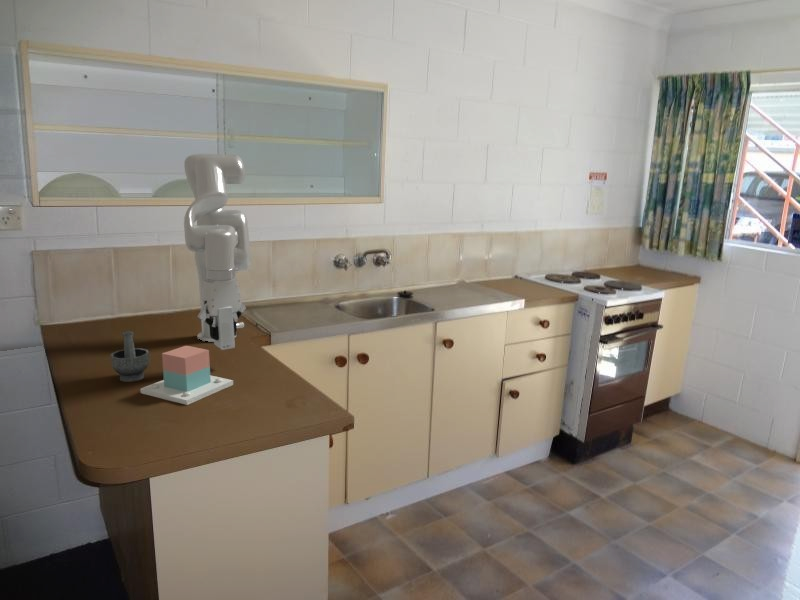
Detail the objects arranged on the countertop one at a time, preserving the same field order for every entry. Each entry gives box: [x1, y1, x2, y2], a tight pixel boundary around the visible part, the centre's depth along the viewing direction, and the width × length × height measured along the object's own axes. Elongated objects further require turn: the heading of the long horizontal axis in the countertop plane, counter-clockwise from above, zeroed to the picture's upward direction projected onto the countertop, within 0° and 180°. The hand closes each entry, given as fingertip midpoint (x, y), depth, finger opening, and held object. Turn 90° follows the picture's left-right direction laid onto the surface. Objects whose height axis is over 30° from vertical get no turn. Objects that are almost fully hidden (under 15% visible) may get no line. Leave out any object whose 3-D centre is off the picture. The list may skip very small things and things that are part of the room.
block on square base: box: [139, 345, 234, 406], centre depth 156 cm, size 16×16×10 cm
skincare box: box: [213, 307, 236, 351], centre depth 173 cm, size 6×4×12 cm
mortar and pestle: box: [110, 330, 150, 383], centre depth 164 cm, size 11×9×12 cm
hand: (223, 336), depth 173 cm, fingers closed on skincare box, 4 cm apart
